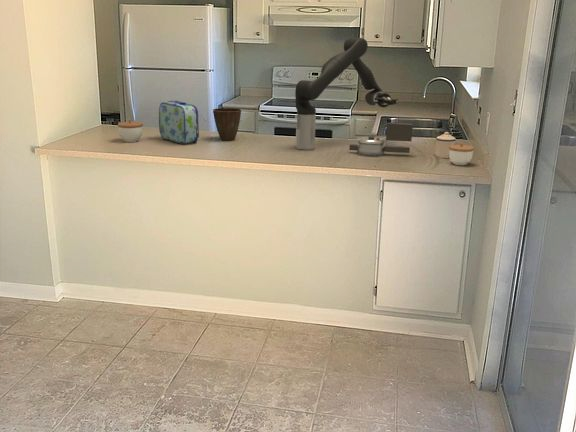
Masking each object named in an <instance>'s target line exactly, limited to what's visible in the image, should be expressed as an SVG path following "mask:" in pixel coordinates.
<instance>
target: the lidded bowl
mask: <svg viewBox="0 0 576 432" xmlns="http://www.w3.org/2000/svg"><path fill="white" fill-rule="evenodd" d="M117 129H118V134H119V137H120V138H121V139H122V140H123V141H124V142H125V141H126V142H125V143H136V141H137V142H139V140H141V139H142V136H143V131H144V123H143V122H142V121H141V122H139V121H132V119H128V121H123V122H119V123H117Z"/></svg>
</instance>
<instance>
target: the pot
mask: <svg viewBox="0 0 576 432" xmlns="http://www.w3.org/2000/svg"><path fill="white" fill-rule="evenodd" d="M356 142H357V143H350V144H349V149H348V150H349V151H356V154H357V155H359V156H362V155H363V157H382V156H384V155H385V153H400V154H401V153H402V154H410V152H411V151H410V149H411V148H410V146H398V145H386V142H385V143H381V144H366V143H360V142H358V141H356Z"/></svg>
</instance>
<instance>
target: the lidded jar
mask: <svg viewBox="0 0 576 432" xmlns="http://www.w3.org/2000/svg"><path fill="white" fill-rule="evenodd" d="M473 154H474V147H473V146H471V145H465V144H463V142H461V143H460V144H455V145H451V146H449V158H448V159H449V160H450V162H452V164H453V165H455V166H467V164H469V163H470V161H471V160H472V158H473Z"/></svg>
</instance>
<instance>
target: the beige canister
mask: <svg viewBox="0 0 576 432" xmlns="http://www.w3.org/2000/svg"><path fill="white" fill-rule="evenodd" d="M435 139H436V140H435V141H436V144H435V152H434V156H435V157H436V158H441V159H450V158H449V146H451V145H456V140H457V139H456V137H454V136H452V135H451V134H450V133H449V132H448V131H445V132H444V133H443V134H440V135H439V136H437V137H435Z"/></svg>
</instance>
